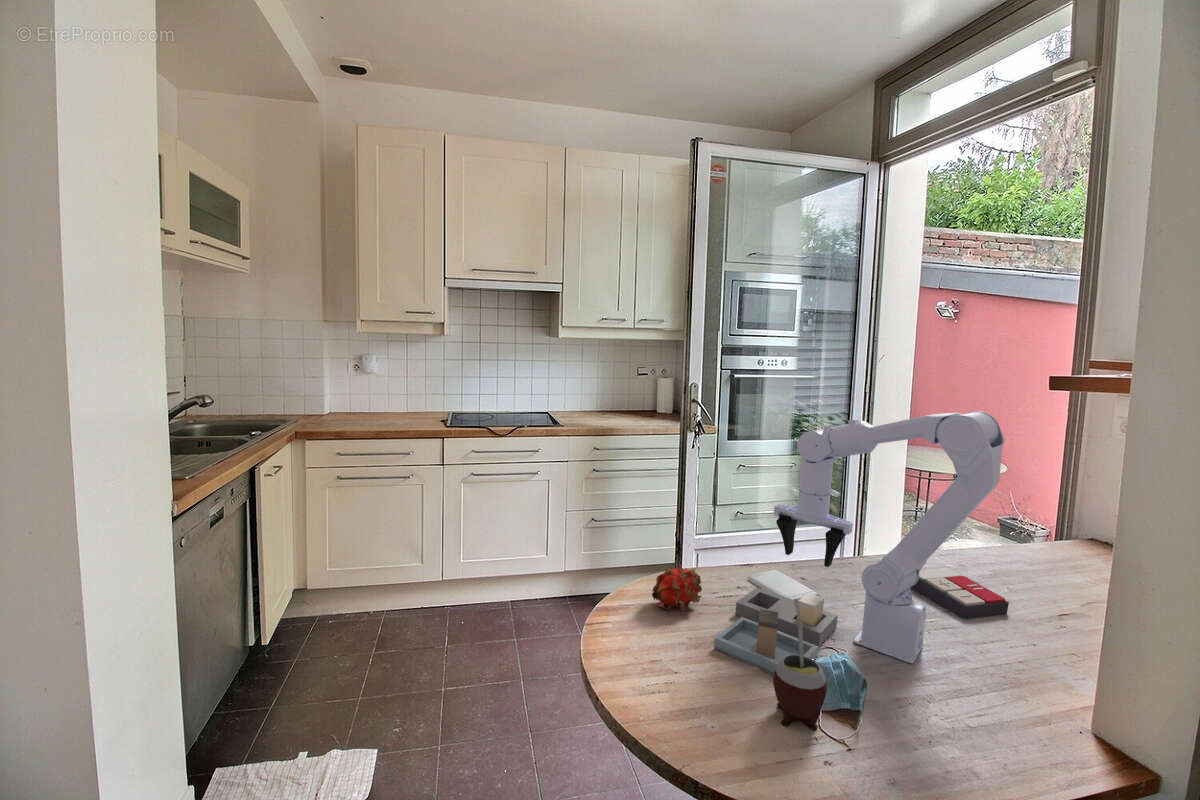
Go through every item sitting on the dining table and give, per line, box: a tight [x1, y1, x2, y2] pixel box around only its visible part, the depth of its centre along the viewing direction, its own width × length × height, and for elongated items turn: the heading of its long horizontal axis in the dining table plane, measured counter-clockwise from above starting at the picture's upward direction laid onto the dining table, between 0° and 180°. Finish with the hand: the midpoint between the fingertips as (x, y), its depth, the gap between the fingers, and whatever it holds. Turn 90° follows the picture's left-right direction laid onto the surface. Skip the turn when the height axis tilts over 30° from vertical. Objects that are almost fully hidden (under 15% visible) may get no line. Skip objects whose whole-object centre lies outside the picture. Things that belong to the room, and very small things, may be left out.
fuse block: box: [735, 586, 838, 648], centre depth 108 cm, size 16×9×2 cm, turn 49°
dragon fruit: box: [651, 564, 703, 612], centre depth 112 cm, size 8×8×12 cm
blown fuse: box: [756, 609, 778, 659], centre depth 97 cm, size 3×4×6 cm, turn 162°
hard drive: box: [747, 569, 820, 602], centre depth 122 cm, size 2×8×12 cm
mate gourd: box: [772, 599, 828, 732], centre depth 81 cm, size 8×8×15 cm
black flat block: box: [910, 567, 1010, 620], centre depth 120 cm, size 11×4×15 cm
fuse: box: [797, 593, 825, 627], centre depth 105 cm, size 3×4×6 cm, turn 140°
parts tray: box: [713, 617, 819, 676], centre depth 97 cm, size 14×10×2 cm
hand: (808, 559), depth 112 cm, fingers open, 7 cm apart
